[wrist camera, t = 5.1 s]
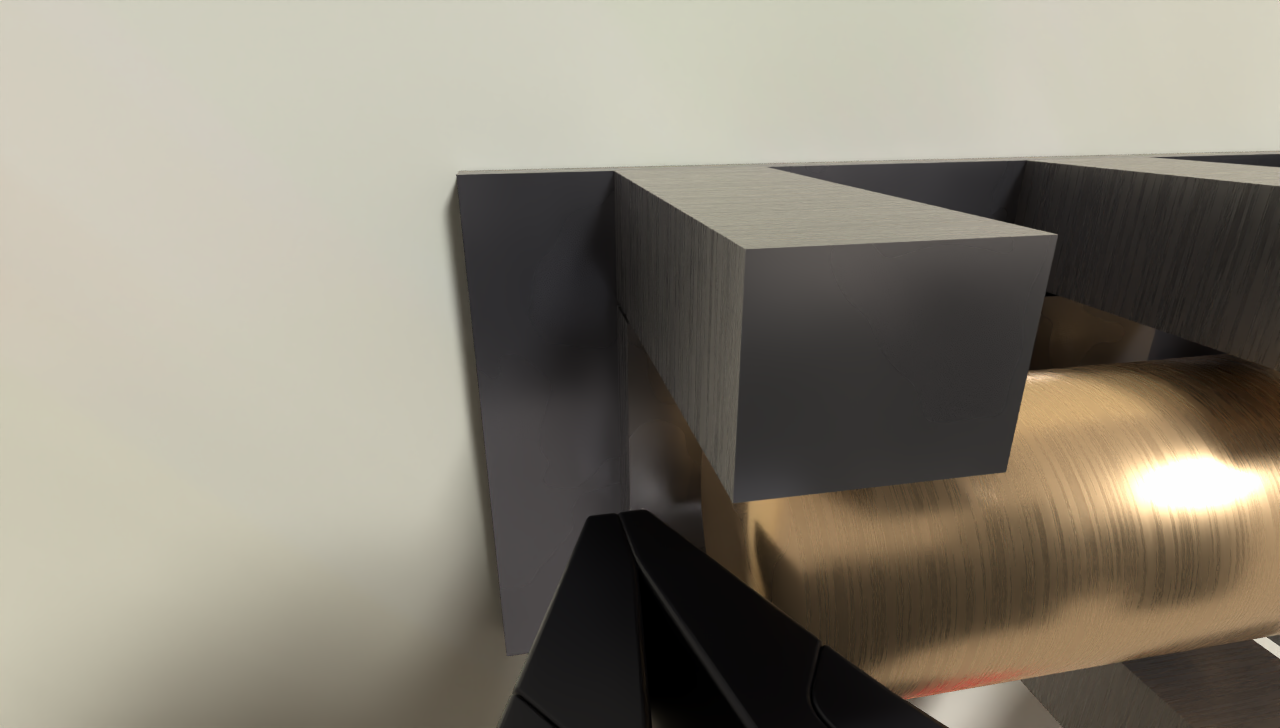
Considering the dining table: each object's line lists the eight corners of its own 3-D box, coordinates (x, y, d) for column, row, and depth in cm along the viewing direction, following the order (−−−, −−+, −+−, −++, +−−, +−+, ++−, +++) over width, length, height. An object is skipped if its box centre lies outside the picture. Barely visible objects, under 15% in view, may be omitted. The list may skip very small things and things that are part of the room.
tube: (1352, 489, 14) (1683, 639, 10) (696, 576, 11) (793, 817, 8) (1440, 292, 12) (1870, 376, 8) (702, 344, 10) (828, 498, 6)
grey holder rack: (1344, 516, 17) (2105, 888, 9) (506, 633, 13) (506, 1430, 5) (1508, 145, 14) (2952, 201, 6) (458, 170, 10) (271, 421, 2)
